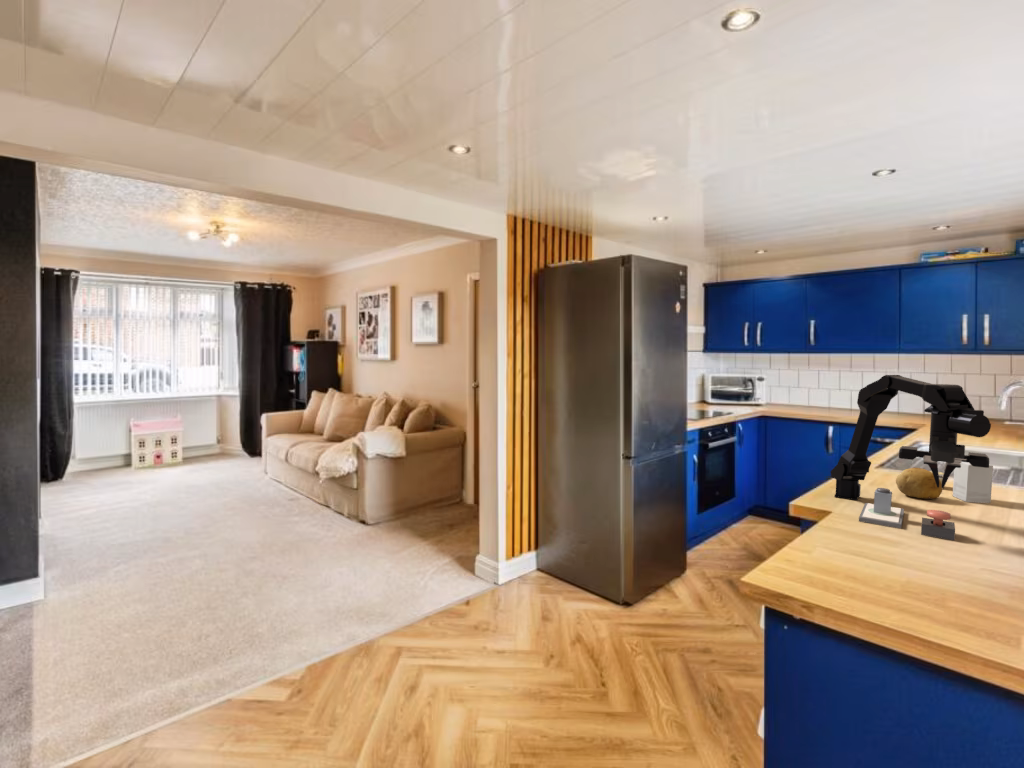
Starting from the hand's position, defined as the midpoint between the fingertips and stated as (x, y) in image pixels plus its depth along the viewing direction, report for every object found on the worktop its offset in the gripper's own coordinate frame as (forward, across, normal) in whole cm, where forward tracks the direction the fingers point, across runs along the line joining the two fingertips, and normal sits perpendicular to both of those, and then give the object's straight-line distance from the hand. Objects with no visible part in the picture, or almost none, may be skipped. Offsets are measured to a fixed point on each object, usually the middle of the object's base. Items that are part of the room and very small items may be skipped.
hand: (940, 487), depth 143 cm
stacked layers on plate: (+14, -1, +61) cm, 62 cm away
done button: (+11, 0, 0) cm, 11 cm away
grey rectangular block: (+12, -13, +8) cm, 19 cm away
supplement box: (+13, +9, +48) cm, 51 cm away
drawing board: (+13, -13, +8) cm, 20 cm away
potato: (+13, -5, +41) cm, 43 cm away
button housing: (+13, 0, 0) cm, 13 cm away
